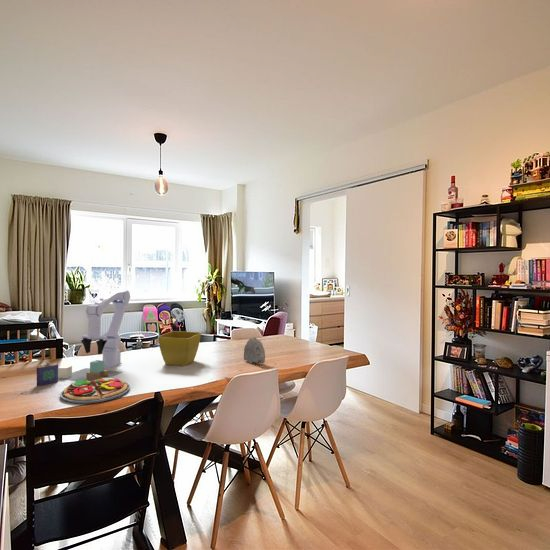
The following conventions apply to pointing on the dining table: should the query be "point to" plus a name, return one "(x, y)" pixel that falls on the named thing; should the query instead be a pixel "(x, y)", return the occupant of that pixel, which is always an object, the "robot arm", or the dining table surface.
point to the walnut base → (97, 375)
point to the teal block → (96, 366)
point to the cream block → (64, 371)
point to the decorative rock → (254, 351)
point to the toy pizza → (94, 390)
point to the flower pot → (179, 347)
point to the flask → (47, 374)
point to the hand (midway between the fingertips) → (93, 353)
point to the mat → (82, 375)
